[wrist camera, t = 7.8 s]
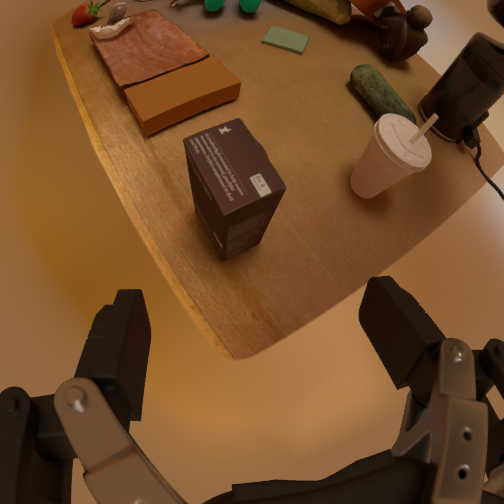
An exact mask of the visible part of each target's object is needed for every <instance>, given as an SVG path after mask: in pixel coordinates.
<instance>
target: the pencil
mask: <svg viewBox="0 0 504 504" xmlns="http://www.w3.org/2000/svg"><path fill="white" fill-rule="evenodd" d="M108 1H109V0H103V1H101V2H100V3H99V4H98V6H97V8H99V7H101V6H102V5H103V4H105V3H106V2H108Z"/></svg>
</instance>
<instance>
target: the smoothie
mask: <svg viewBox="0 0 504 504" xmlns="http://www.w3.org/2000/svg"><path fill="white" fill-rule="evenodd" d="M437 119H438V116H437V115H436V114H433V115H432V116H431V117H430V118H429V119H428V121H427V122H426V123H425V124H424V125H423V126H422V127H421V128H420V129H419V128H418V127H417V126H416V125H415V124H413V123H412V122H411V121H409V120H408V119H406V118H404V117H403V116H400V115H397V114H391V113H390V114H385V115H383V116H382V117H381V118H380V119H379V120H378V121H377V122H376V124H375V126H374V134H373V136H372V138H371V140H370V142H369V144H368V145H367V147H366V149H365V151H364V153H363V155H362V157H361V158H360V160H359V162H358V164H357V166H356V168H355V169H354V171H353V173H352V175H351V177H350V185H351V187H352V189H353V191H354V192H355V193H356V194H357V195H359V196H360V197H362V198H366V199H369V198H372V197H374V196H376V195H377V194H379V193H381V192H382V191H384V190H385V189H387V188H389V187H390V186H392V185H394V184H395V183H397V182H398V181H400V180H402V179H403V178H405V177H407V176H408V175H410V174H412V173H413V172H420V171H422V170H424V168H425V167H426V166H427V165H428V164H429V163H430V161H431V158H432V153H431V148H430V145H429V143H428V141H427V139H426V137H425V136H424V133H425V132H426V131H427V130H428V129H429V128H430V127H431V126H432V125H433V124H434V123H435V121H436V120H437Z"/></svg>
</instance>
